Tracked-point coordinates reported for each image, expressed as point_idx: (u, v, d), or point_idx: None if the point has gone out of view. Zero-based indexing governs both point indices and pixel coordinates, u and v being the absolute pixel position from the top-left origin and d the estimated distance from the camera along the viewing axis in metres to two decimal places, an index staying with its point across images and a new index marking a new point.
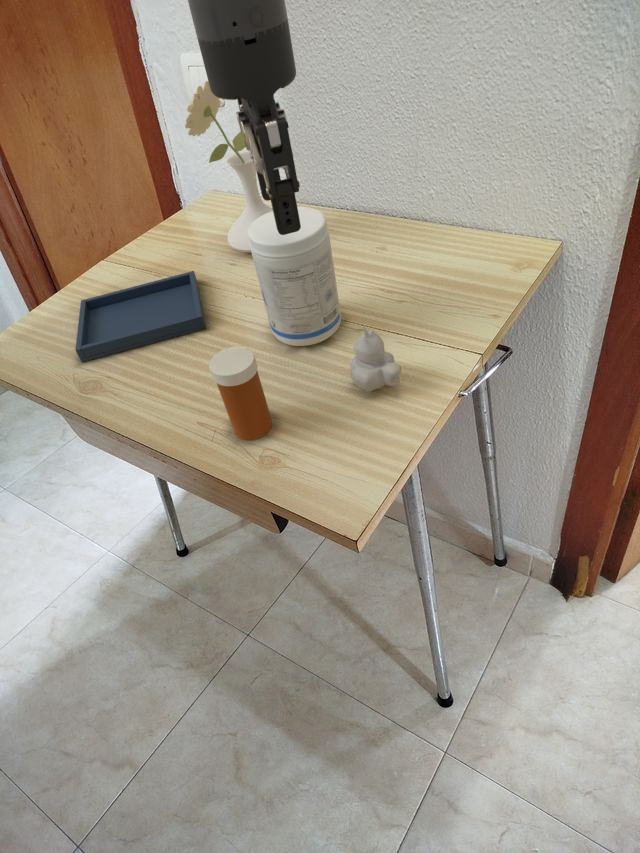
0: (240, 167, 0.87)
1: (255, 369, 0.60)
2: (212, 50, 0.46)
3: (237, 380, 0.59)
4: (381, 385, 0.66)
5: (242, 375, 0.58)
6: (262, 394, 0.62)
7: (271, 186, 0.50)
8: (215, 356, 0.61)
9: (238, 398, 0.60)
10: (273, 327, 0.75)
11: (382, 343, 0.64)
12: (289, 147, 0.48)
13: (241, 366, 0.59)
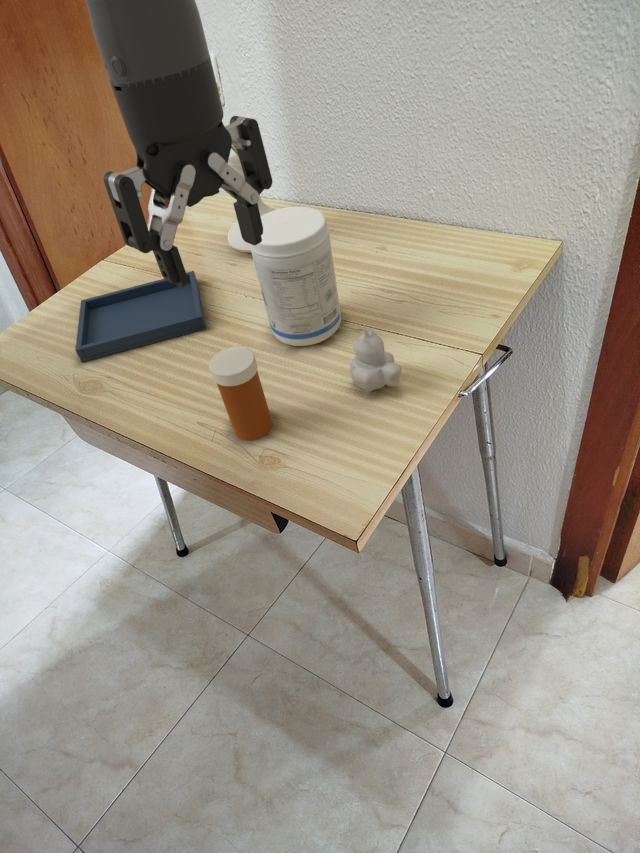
0: (240, 167, 0.87)
1: (255, 369, 0.60)
2: None
3: (237, 380, 0.59)
4: (381, 385, 0.66)
5: (242, 375, 0.58)
6: (262, 394, 0.62)
7: (122, 235, 0.48)
8: (215, 356, 0.61)
9: (238, 398, 0.60)
10: (273, 327, 0.75)
11: (382, 343, 0.64)
12: (125, 208, 0.45)
13: (241, 366, 0.59)
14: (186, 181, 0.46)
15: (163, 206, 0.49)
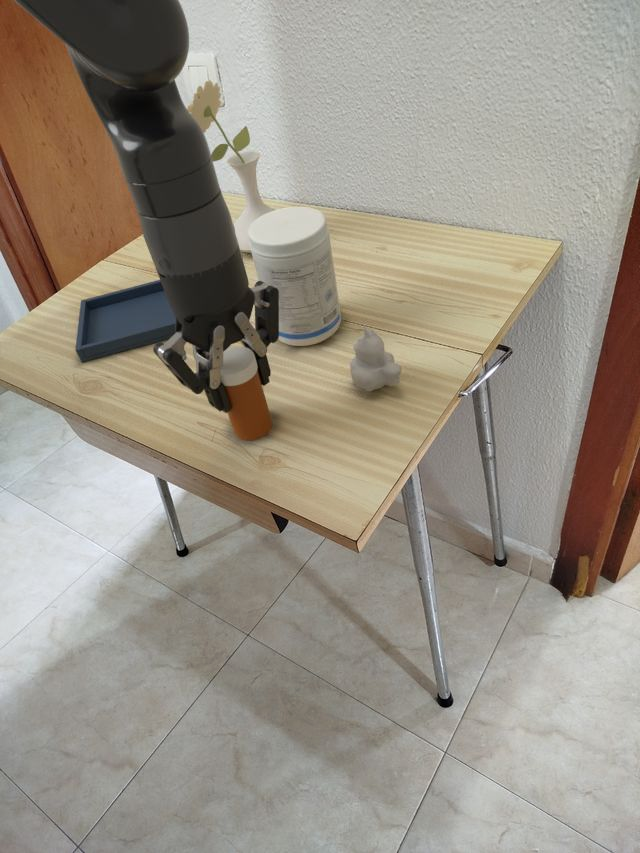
0: (240, 167, 0.87)
1: (255, 369, 0.60)
2: None
3: (237, 380, 0.59)
4: (381, 385, 0.66)
5: (242, 375, 0.58)
6: (262, 394, 0.62)
7: None
8: None
9: (238, 398, 0.60)
10: None
11: (382, 343, 0.64)
12: (176, 372, 0.54)
13: (242, 366, 0.59)
14: (219, 338, 0.55)
15: None
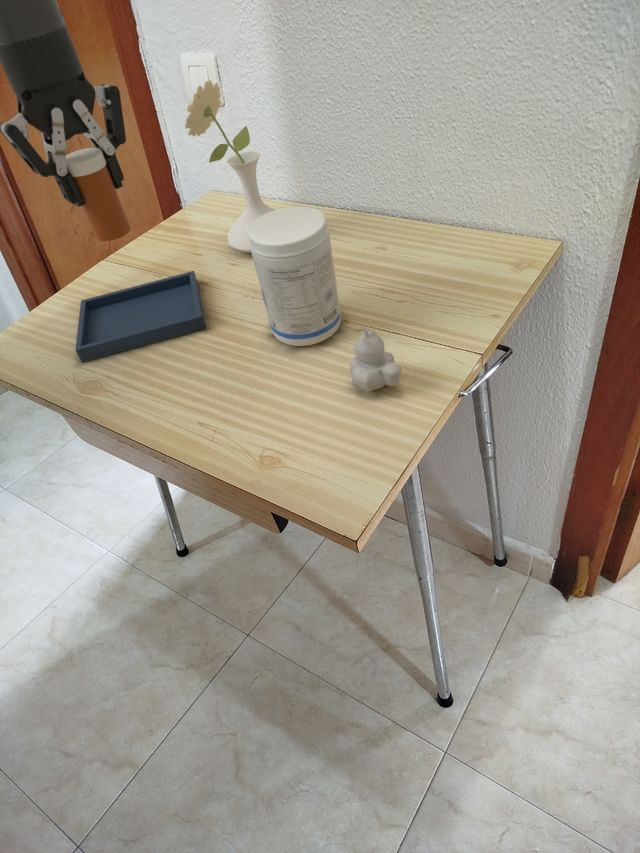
0: (240, 167, 0.87)
1: (102, 163, 0.68)
2: None
3: (83, 170, 0.67)
4: (381, 385, 0.66)
5: (87, 165, 0.66)
6: (114, 193, 0.70)
7: (29, 166, 0.65)
8: (69, 154, 0.68)
9: (88, 191, 0.68)
10: (273, 327, 0.75)
11: (382, 343, 0.64)
12: (19, 148, 0.62)
13: (87, 158, 0.66)
14: (57, 121, 0.63)
15: None
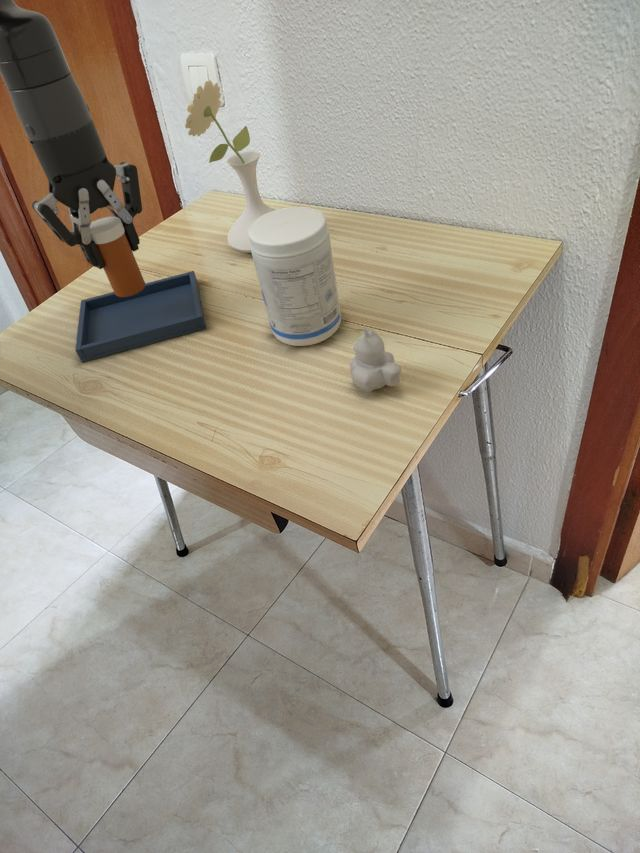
0: (240, 167, 0.87)
1: (121, 232, 0.76)
2: None
3: (105, 238, 0.75)
4: (381, 385, 0.66)
5: (109, 234, 0.75)
6: (131, 256, 0.79)
7: (57, 236, 0.74)
8: (91, 223, 0.77)
9: (109, 256, 0.77)
10: (273, 327, 0.75)
11: (382, 343, 0.64)
12: (50, 223, 0.71)
13: (108, 227, 0.75)
14: (83, 199, 0.71)
15: (78, 214, 0.74)
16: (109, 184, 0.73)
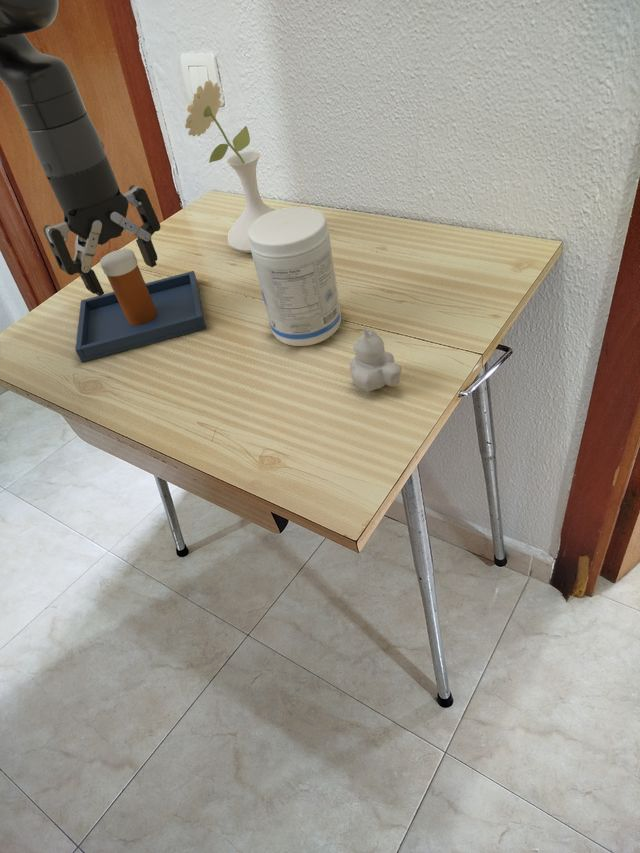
0: (240, 167, 0.87)
1: (134, 264, 0.79)
2: None
3: (119, 271, 0.78)
4: (381, 385, 0.66)
5: (123, 267, 0.78)
6: (144, 287, 0.82)
7: (57, 263, 0.75)
8: (106, 256, 0.80)
9: (123, 287, 0.80)
10: (273, 327, 0.75)
11: (382, 343, 0.64)
12: (56, 248, 0.72)
13: (122, 261, 0.78)
14: (96, 230, 0.74)
15: (84, 244, 0.77)
16: (121, 215, 0.76)
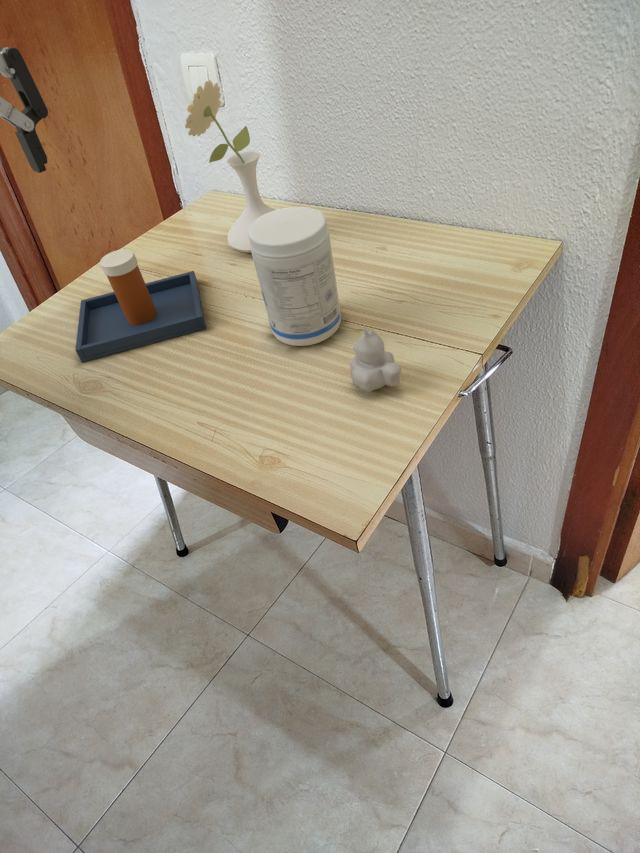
0: (240, 167, 0.87)
1: (134, 264, 0.79)
2: None
3: (119, 271, 0.78)
4: (381, 385, 0.66)
5: (123, 267, 0.78)
6: (144, 287, 0.82)
7: None
8: (106, 256, 0.80)
9: (123, 287, 0.80)
10: (273, 327, 0.75)
11: (382, 343, 0.64)
12: None
13: (122, 261, 0.78)
14: None
15: None
16: None
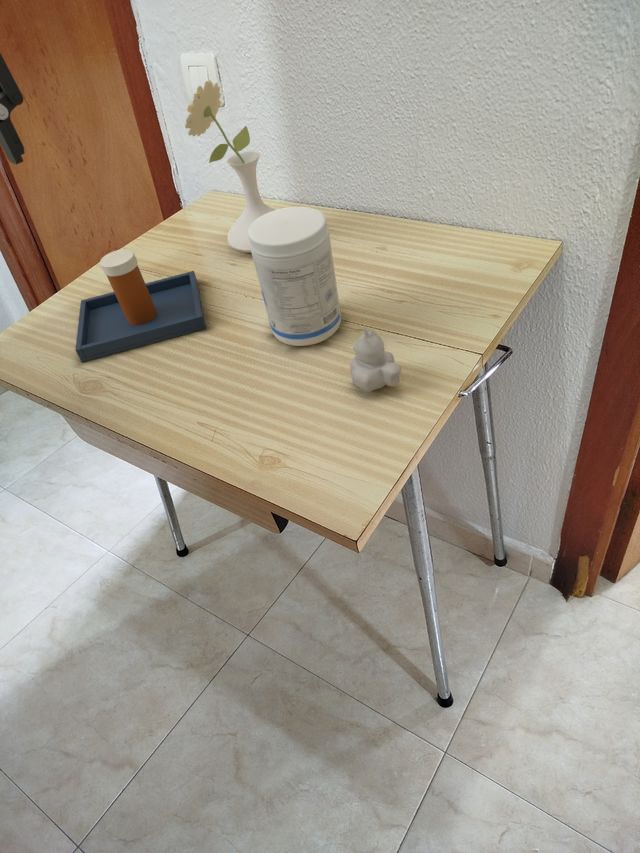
0: (240, 167, 0.87)
1: (134, 264, 0.79)
2: None
3: (119, 271, 0.78)
4: (381, 385, 0.66)
5: (123, 267, 0.78)
6: (144, 287, 0.82)
7: None
8: (106, 256, 0.80)
9: (123, 287, 0.80)
10: (273, 327, 0.75)
11: (382, 343, 0.64)
12: None
13: (122, 261, 0.78)
14: None
15: None
16: None
